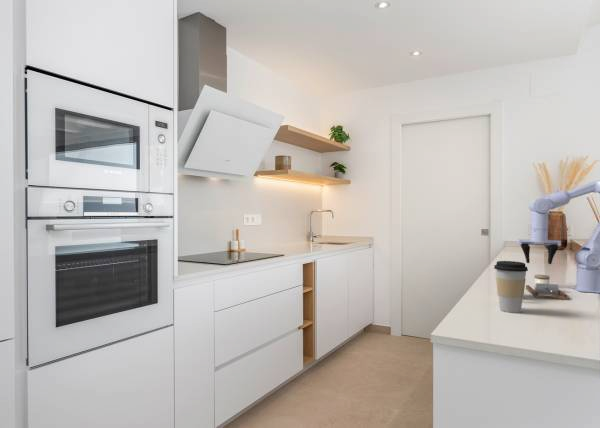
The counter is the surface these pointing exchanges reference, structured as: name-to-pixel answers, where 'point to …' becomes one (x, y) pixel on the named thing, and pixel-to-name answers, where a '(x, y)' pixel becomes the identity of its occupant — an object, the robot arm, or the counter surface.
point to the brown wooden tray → (561, 296)
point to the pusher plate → (547, 289)
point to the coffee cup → (510, 285)
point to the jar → (541, 279)
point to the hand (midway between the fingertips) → (538, 263)
